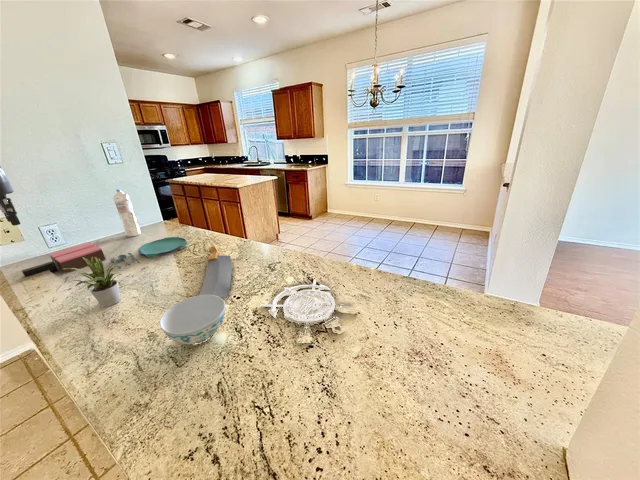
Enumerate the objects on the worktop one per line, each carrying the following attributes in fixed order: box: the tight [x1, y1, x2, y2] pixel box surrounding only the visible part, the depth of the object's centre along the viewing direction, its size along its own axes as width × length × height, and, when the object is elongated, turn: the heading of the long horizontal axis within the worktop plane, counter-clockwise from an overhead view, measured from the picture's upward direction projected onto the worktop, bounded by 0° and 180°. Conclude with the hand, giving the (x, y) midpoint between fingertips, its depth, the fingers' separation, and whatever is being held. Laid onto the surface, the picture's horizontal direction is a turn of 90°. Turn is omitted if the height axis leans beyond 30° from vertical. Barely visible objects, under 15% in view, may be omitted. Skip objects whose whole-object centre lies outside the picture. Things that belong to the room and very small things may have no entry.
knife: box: [21, 260, 61, 278], centre depth 109 cm, size 22×2×4 cm, turn 146°
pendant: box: [259, 278, 349, 333], centre depth 77 cm, size 21×28×1 cm
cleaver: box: [197, 245, 233, 299], centre depth 100 cm, size 4×10×40 cm
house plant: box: [65, 256, 123, 308], centre depth 82 cm, size 14×14×16 cm
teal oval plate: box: [109, 236, 188, 270], centre depth 120 cm, size 20×30×2 cm, turn 138°
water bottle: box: [112, 188, 142, 238], centre depth 139 cm, size 7×7×25 cm
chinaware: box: [159, 294, 226, 345], centre depth 67 cm, size 15×15×8 cm
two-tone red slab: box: [48, 242, 107, 275], centre depth 113 cm, size 14×14×6 cm
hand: (14, 223), depth 103 cm, fingers open, 8 cm apart
